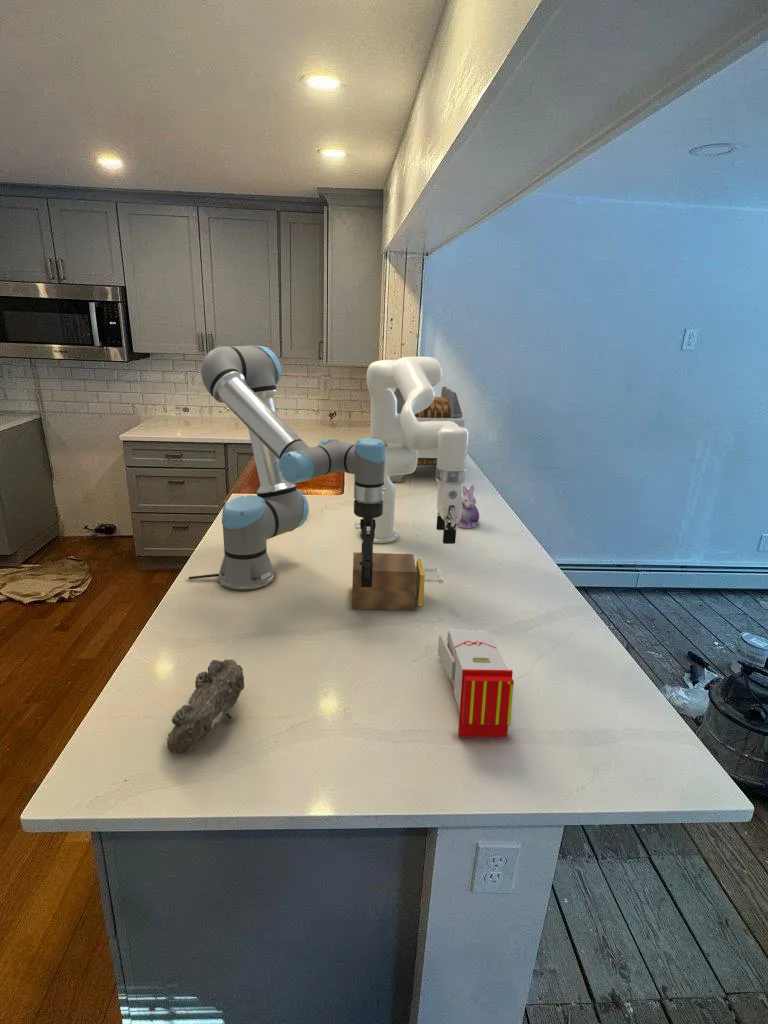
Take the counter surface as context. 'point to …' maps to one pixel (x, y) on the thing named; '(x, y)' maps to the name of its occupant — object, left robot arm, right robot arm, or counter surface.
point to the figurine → (468, 509)
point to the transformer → (437, 411)
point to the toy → (478, 682)
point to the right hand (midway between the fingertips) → (445, 536)
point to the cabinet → (385, 582)
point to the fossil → (206, 705)
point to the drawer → (424, 580)
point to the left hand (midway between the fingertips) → (366, 575)
